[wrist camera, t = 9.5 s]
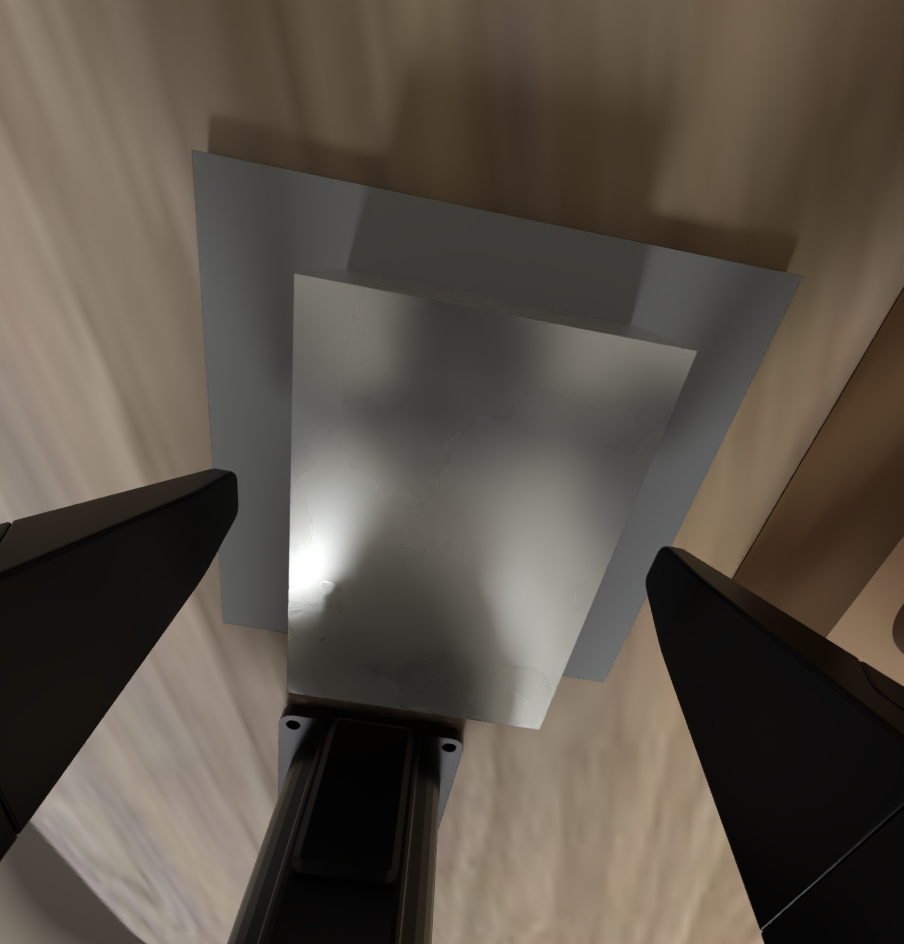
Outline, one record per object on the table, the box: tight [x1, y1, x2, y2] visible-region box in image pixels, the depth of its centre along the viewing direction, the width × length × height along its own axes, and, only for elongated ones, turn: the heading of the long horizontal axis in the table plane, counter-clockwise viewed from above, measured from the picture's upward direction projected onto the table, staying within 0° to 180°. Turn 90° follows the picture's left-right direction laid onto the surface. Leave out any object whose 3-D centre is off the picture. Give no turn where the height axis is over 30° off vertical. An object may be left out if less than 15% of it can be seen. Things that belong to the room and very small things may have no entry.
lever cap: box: [287, 268, 697, 730], centre depth 10 cm, size 9×6×3 cm, turn 170°
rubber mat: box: [192, 150, 803, 682], centre depth 11 cm, size 12×12×1 cm
